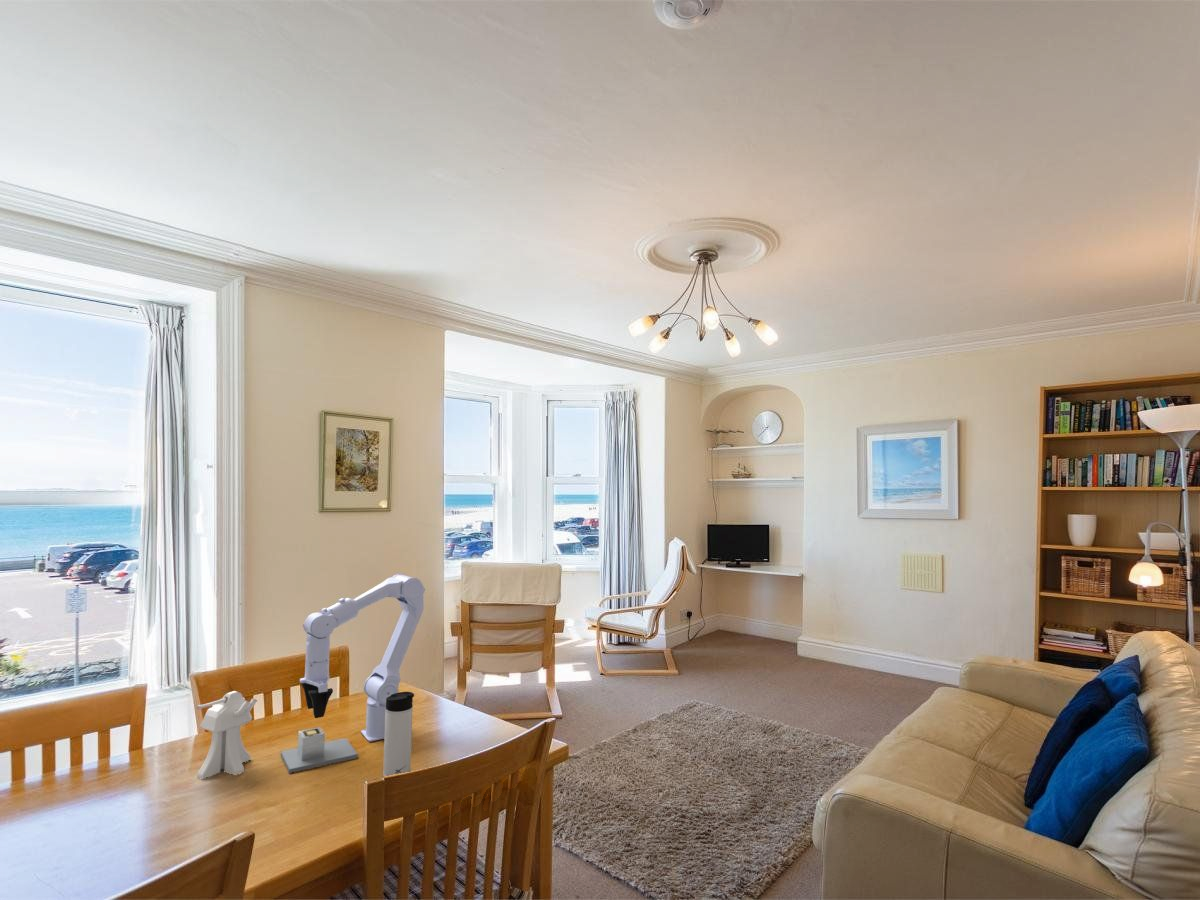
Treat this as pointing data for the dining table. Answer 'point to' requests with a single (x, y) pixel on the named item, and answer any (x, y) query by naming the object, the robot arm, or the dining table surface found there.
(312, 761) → the board
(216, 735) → the white mech figurine
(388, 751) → the travel mug
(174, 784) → the dining table surface
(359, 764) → the dining table surface
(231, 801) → the dining table surface
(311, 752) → the block
